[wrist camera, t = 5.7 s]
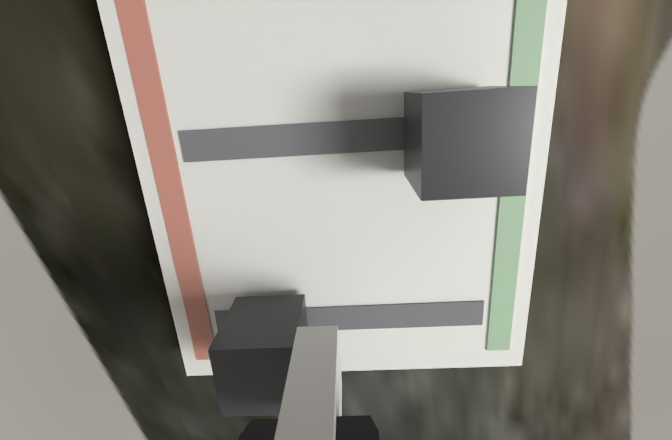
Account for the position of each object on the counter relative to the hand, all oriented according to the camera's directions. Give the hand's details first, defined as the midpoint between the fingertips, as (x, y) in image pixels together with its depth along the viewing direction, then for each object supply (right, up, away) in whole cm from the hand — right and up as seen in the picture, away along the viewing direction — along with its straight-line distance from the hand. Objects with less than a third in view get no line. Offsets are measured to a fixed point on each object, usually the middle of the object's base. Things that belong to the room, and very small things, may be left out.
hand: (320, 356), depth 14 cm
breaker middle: (+5, +8, 0) cm, 10 cm away
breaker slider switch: (-2, 0, +3) cm, 3 cm away
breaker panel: (+1, +9, +2) cm, 9 cm away
